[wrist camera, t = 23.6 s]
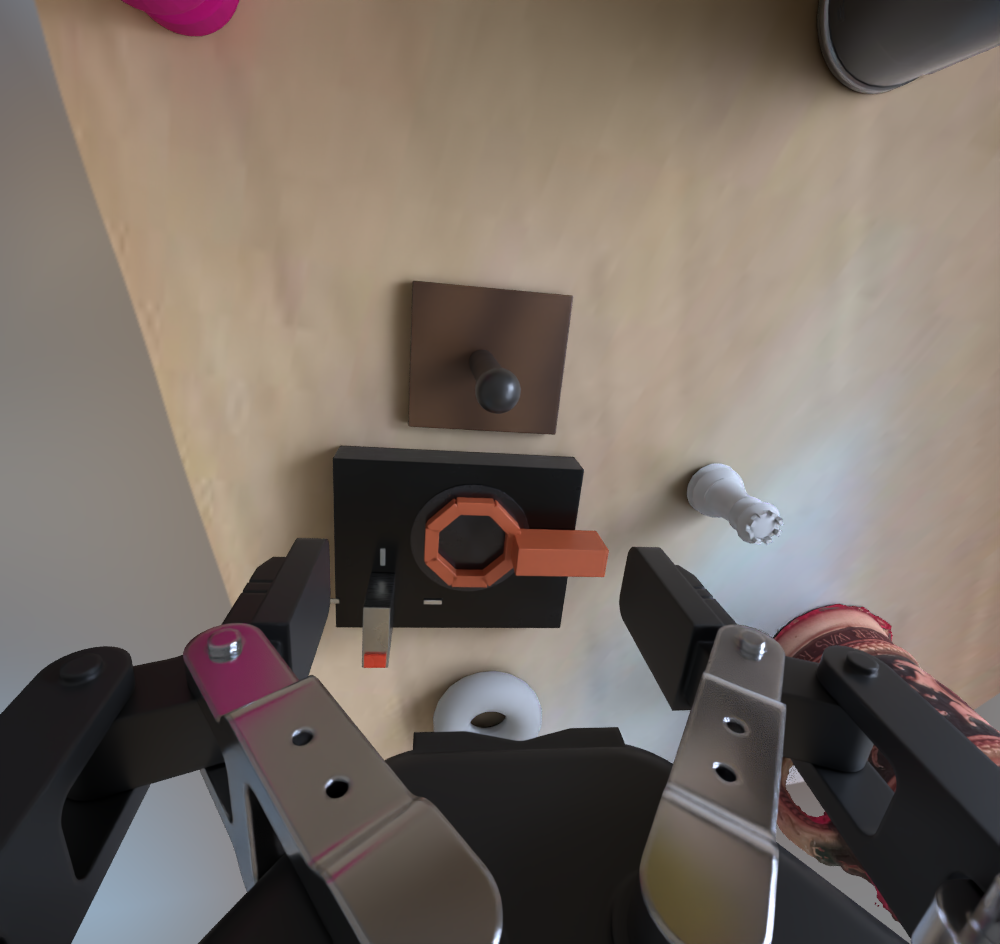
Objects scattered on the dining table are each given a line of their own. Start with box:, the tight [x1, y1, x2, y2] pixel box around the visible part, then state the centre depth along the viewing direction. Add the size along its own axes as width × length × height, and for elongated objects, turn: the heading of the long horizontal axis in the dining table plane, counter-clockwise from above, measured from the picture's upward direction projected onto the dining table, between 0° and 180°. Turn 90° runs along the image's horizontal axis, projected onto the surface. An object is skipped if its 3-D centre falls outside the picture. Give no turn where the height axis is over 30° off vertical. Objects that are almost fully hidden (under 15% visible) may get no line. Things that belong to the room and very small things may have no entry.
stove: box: [330, 446, 584, 628], centre depth 41 cm, size 19×16×3 cm
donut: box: [433, 671, 542, 741], centre depth 47 cm, size 10×4×10 cm
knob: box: [362, 573, 395, 668], centre depth 38 cm, size 5×2×5 cm, turn 174°
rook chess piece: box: [687, 464, 784, 545], centre depth 40 cm, size 4×4×8 cm
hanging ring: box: [424, 497, 609, 587], centre depth 38 cm, size 13×7×3 cm, turn 85°
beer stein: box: [774, 604, 1000, 923], centre depth 39 cm, size 17×28×18 cm
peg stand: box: [408, 281, 573, 434], centre depth 32 cm, size 11×10×12 cm
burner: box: [410, 484, 529, 591], centre depth 39 cm, size 9×9×1 cm
